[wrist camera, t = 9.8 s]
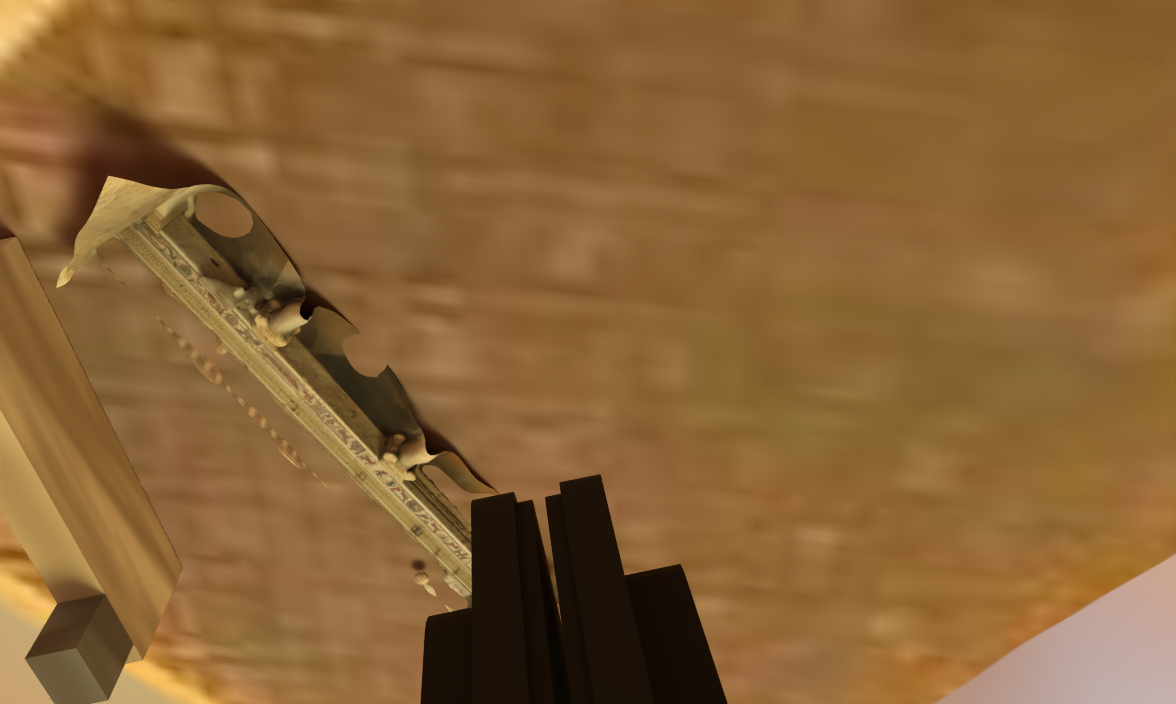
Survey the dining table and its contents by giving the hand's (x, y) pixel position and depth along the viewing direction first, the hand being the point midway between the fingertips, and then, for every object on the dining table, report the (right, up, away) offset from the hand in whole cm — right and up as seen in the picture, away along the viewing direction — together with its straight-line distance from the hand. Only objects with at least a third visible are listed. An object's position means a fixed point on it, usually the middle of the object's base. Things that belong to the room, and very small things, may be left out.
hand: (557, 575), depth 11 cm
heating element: (-11, -1, +30) cm, 32 cm away
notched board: (-22, 0, +28) cm, 36 cm away
